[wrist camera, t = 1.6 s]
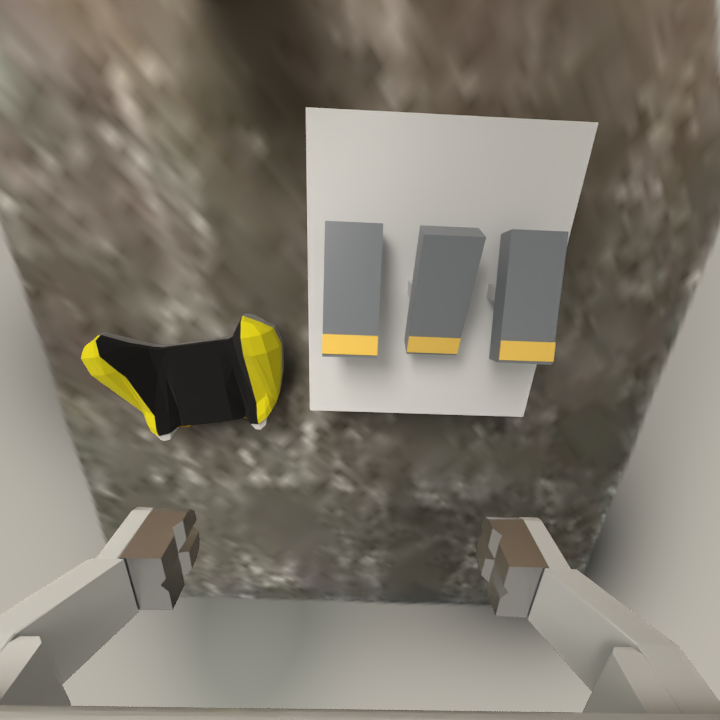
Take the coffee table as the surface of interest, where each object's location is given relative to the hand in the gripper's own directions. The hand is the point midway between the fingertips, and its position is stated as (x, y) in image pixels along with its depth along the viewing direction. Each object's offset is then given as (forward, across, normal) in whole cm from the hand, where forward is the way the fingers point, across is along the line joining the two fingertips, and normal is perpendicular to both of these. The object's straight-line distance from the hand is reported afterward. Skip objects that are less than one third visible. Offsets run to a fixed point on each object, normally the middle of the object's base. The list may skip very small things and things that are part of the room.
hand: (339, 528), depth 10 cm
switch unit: (+22, -6, -4) cm, 23 cm away
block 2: (+15, -11, -4) cm, 19 cm away
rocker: (+15, -6, -4) cm, 16 cm away
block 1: (+15, 0, -4) cm, 15 cm away
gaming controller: (+22, +12, +5) cm, 26 cm away
